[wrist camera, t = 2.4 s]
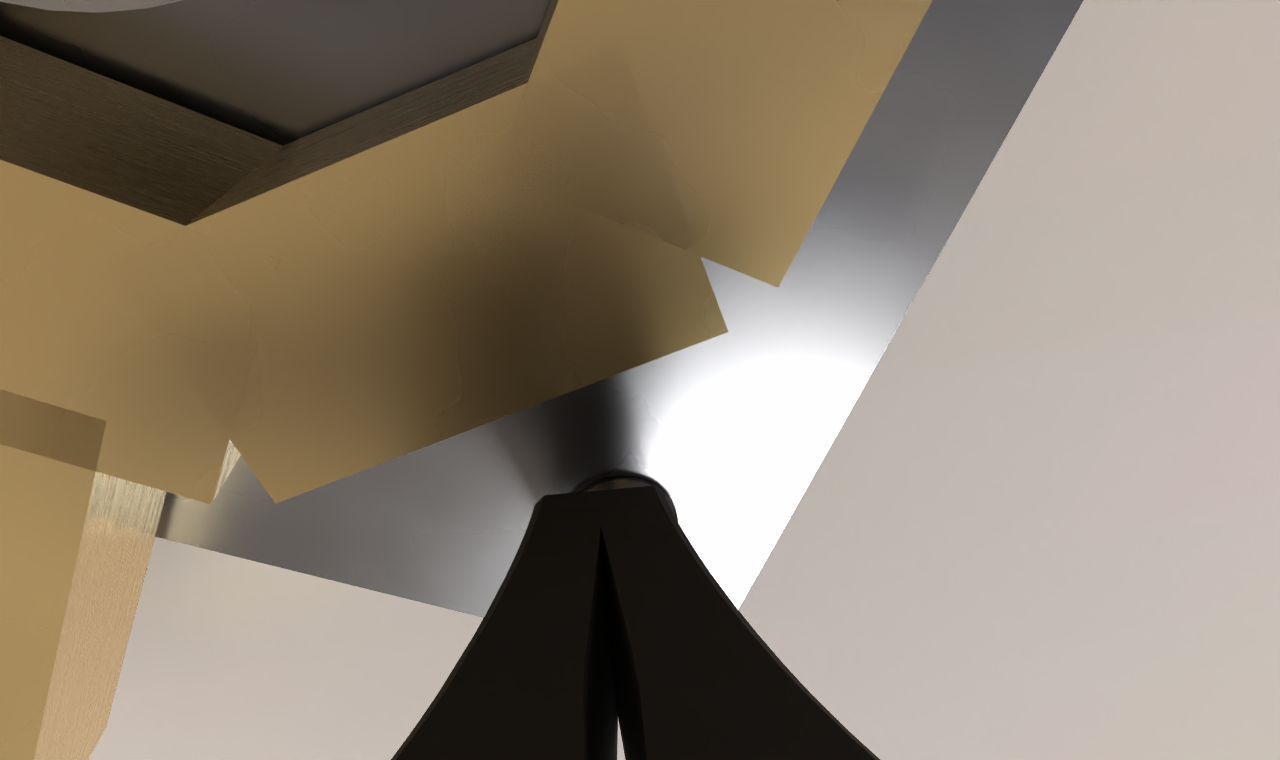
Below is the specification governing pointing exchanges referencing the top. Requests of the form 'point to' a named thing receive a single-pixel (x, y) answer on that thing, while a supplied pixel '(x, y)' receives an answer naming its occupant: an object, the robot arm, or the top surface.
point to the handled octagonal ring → (369, 278)
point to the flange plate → (629, 401)
